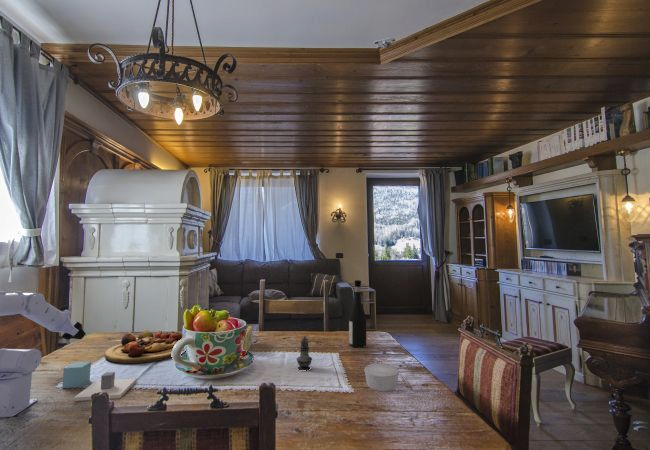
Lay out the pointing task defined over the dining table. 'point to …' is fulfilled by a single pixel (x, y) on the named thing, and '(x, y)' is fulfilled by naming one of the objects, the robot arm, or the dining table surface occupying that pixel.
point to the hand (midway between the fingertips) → (74, 331)
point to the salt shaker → (304, 356)
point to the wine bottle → (357, 320)
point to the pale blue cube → (76, 374)
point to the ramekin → (381, 377)
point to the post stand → (106, 387)
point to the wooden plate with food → (143, 347)
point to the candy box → (248, 339)
